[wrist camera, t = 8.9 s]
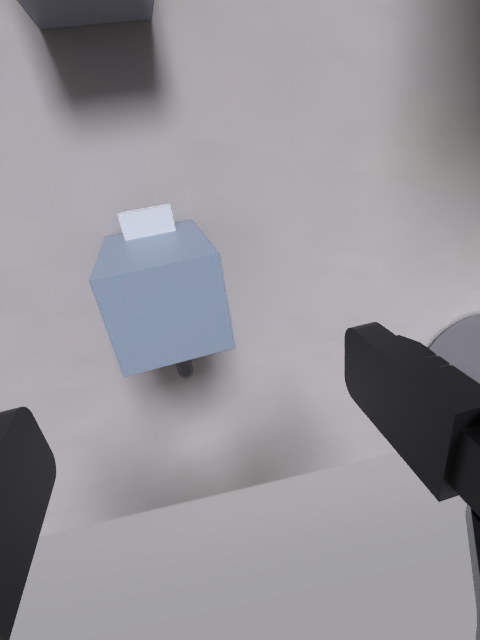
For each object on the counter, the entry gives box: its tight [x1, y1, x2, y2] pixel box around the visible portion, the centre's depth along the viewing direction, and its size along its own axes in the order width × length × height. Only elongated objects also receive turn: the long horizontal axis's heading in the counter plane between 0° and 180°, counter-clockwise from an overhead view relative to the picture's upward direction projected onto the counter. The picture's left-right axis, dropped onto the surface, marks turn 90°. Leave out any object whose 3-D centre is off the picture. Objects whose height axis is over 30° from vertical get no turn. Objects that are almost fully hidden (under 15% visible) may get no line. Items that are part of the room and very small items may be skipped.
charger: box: [89, 203, 236, 378], centre depth 17 cm, size 4×10×7 cm, turn 8°
